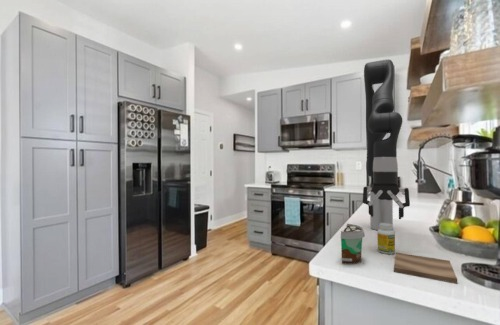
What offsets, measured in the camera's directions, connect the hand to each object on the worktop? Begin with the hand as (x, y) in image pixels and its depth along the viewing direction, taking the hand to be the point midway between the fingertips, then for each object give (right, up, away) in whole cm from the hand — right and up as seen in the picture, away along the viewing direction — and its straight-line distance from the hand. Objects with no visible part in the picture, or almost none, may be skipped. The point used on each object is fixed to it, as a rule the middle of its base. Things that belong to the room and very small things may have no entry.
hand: (385, 217), depth 88 cm
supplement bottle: (0, -12, 0) cm, 12 cm away
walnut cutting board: (+3, -12, -14) cm, 18 cm away
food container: (-14, -12, -7) cm, 19 cm away
